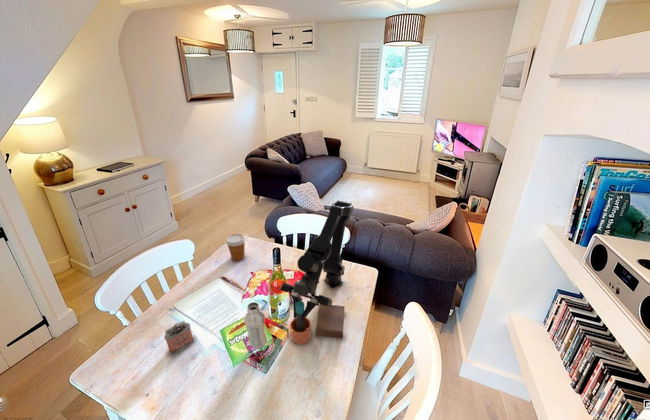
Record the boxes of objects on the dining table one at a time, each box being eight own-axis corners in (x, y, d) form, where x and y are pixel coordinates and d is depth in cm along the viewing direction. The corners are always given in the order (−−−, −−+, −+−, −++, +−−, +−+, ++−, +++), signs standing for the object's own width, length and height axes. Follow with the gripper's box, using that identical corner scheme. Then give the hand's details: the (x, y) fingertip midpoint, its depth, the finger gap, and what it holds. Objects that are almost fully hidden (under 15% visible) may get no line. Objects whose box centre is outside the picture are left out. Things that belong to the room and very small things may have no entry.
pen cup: (304, 323, 104) (304, 313, 101) (314, 337, 98) (314, 326, 96) (287, 332, 100) (286, 322, 98) (296, 347, 94) (296, 336, 92)
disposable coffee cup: (225, 261, 138) (221, 242, 133) (234, 251, 147) (231, 232, 141) (242, 264, 137) (239, 244, 132) (250, 253, 145) (248, 234, 140)
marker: (302, 326, 100) (301, 299, 94) (306, 331, 98) (305, 305, 92) (295, 329, 98) (293, 303, 93) (299, 335, 96) (298, 308, 91)
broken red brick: (192, 335, 98) (186, 315, 94) (195, 341, 96) (190, 321, 92) (168, 349, 93) (160, 329, 89) (171, 356, 91) (164, 335, 86)
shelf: (319, 311, 110) (319, 303, 108) (344, 313, 109) (344, 306, 107) (315, 336, 99) (315, 328, 97) (342, 339, 98) (343, 331, 96)
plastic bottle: (264, 359, 90) (259, 315, 82) (245, 355, 91) (238, 312, 83) (271, 342, 96) (267, 300, 87) (253, 339, 97) (247, 297, 88)
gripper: (281, 264, 94) (265, 310, 90) (330, 280, 88) (315, 329, 83) (293, 270, 104) (279, 311, 100) (337, 283, 98) (325, 328, 93)
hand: (298, 319), depth 94 cm, fingers closed on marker, 3 cm apart
